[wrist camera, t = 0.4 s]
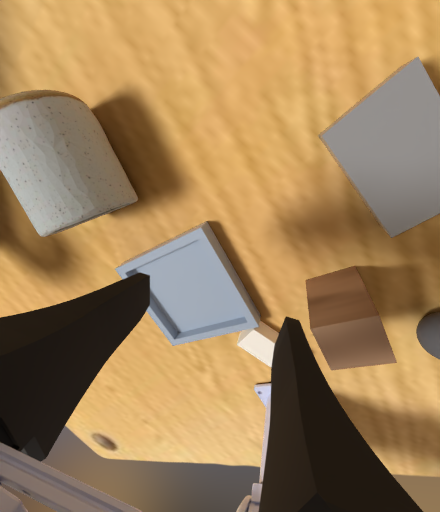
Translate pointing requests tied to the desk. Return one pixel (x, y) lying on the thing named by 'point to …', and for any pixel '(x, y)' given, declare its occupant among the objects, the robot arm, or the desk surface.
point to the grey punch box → (393, 148)
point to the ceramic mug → (59, 161)
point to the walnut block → (346, 321)
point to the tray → (193, 288)
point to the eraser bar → (259, 342)
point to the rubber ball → (430, 334)
